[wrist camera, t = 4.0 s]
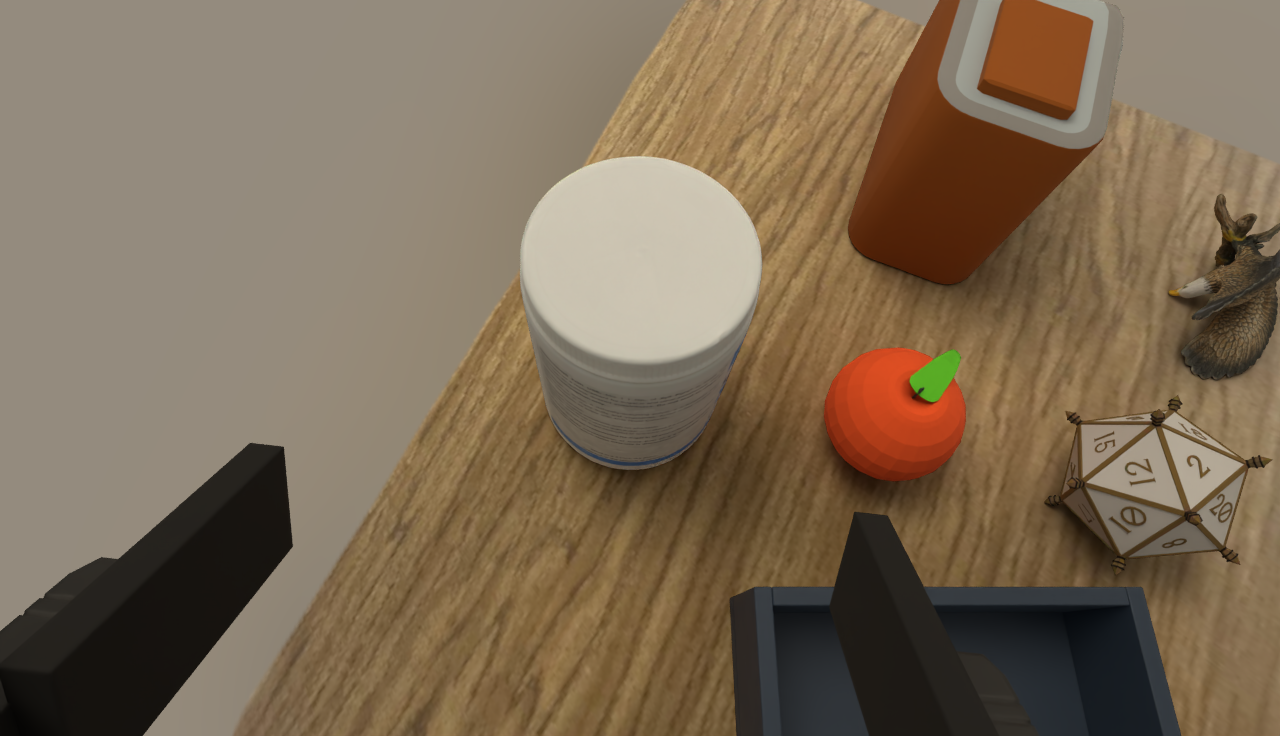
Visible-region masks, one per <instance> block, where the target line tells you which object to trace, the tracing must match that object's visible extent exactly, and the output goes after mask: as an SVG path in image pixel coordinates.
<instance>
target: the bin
mask: <svg viewBox="0 0 1280 736" xmlns="http://www.w3.org/2000/svg"><path fill="white" fill-rule="evenodd" d="M924 588H925V590H926V592H927V594H928V596H929V598H930V600H931V602H932V604H933V606H934V608H935V610H936V612H937V614H938V616H939V618H940V620H941V622H942V624H943V626H944V628H945V630H946V632H947V634H948V636H949V638H950V640H951V642H952V644H953V646H954V648H955V650H956V651H960V652H969V653H978V654H984V655H985V656H986V657H987V658H988V659H989V660H990V661H991V662H992V663H993V664H994V665H995V666H996V667H997V668H998V669H999V670H1000V671H1001V672H1002V673H1003V674H1004V675H1005V676H1006V677H1007V679H1008V681H1009V683H1010V684H1011V686H1012V688H1013V690H1014V691H1015V693H1016V695H1017V697H1018V699H1019V700H1020V701H1019V703H1020V705H1022V706H1023V707H1024V709H1025V711H1026V713H1027V714H1028V716H1029V718H1030V720H1031V725H1034V727H1035V728H1036V730H1037V732H1038V734H1039V735H1040V736H1181V733H1180V729H1179V725H1178V721H1177V718H1176V714H1175V710H1174V706H1173V702H1172V698H1171V695H1170V691H1169V687H1168V683H1167V679H1166V675H1165V672H1164V668H1163V664H1162V660H1161V656H1160V653H1159V649H1158V645H1157V641H1156V637H1155V633H1154V630H1153V626H1152V622H1151V618H1150V614H1149V610H1148V607H1147V603H1146V599H1145V595H1144V591H1143V588H1142V587H924ZM833 590H834V587H772V588H771V587H754V588H752V589H749V590H747V591H745V592H743V593H740V594H738V595H736V596H733V597H731V598H730V614H731V634H732V654H733V674H734V693H735V713H736V733H737V736H869V734H868V731H867V727H866V724H865V721H864V718H863V715H862V711H861V708H860V705H859V702H858V698H857V695H856V692H855V689H854V685H853V682H852V679H851V676H850V673H849V669H848V666H847V663H846V660H845V656H844V653H843V650H842V647H841V644H840V640H839V637H838V634H837V631H836V627H835V624H834V621H833V618H832V615H831V611H830V608H829V605H830V602H831V598H832V594H833Z"/></svg>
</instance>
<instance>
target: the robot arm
mask: <svg viewBox="0 0 1280 736" xmlns="http://www.w3.org/2000/svg"><path fill="white" fill-rule="evenodd" d="M292 547H293V544H292V533H291V523H290V510H289V499H288V489H287V477H286V466H285V455H284V447H281V446H272V445H264V444H255V443H250V444H248V445H247V446H246V447H245V448H244V449H243V450H242V451H241V452H239V453H238V454H237V455H236V456H235V457H234V458H233V459H231V460H230V461H229V462H228V463H227V464H226V465H225V466H223V468H221V469H220V470H219V471H218V472H217V473H216V474H214V475H213V476H212V477H211V478H210V479H209V480H208V481H207V482H205V483H204V484H203V485H202V486H201V487H200V488H198V489H197V490H196V491H195V492H194V493H193V494H192V495H191V496H189V497H188V498H187V499H186V500H185V501H184V502H183V503H181V504H180V505H179V506H178V507H177V508H176V509H175V510H174V511H173V512H171V513H170V514H169V515H168V516H167V517H166V518H164V519H163V520H162V521H161V522H160V523H159V524H158V525H157V526H156V527H154V528H153V529H152V530H151V531H150V532H149V533H148V534H146V535H145V536H144V537H143V538H142V539H141V540H140V541H138V542H137V543H136V544H135V545H134V546H133V547H132V548H130V549H129V550H128V551H127V552H126V553H125V554H124V555H123V556H121V557H120V558H119V559H112V558H103V557H101V558H99V559H97V560H95V561H93V562H91V563H89V564H87V565H85V566H83V567H82V568H80V569H78V570H76V571H74V572H72V573H70V574H68V575H67V576H66V577H65V578H64V579H62V580H61V581H60V582H59V583H58V584H56V585H55V586H54V587H53V588H51V589H50V590H49V591H48V592H47V593H46V594H45V596H44V598H39V599H38V600H37V601H36V602H35V603H33V604H32V605H31V606H30V607H29V608H27V609H26V610H25V613H24V614H23V616H22V615H19V616H18V617H17V618H15V619H14V620H13V621H12V622H11V623H9V625H7V626H6V627H5V628H3V629H2V630H1V631H0V736H143V735H144V733H145V732H146V731H147V730H148V728H149V727H150V726H151V725H152V723H153V722H154V721H155V719H156V718H157V717H158V716H159V715H160V713H161V712H162V711H163V710H164V708H165V707H166V706H167V704H168V703H169V702H170V701H171V699H172V698H173V697H174V695H175V694H176V693H177V692H178V691H179V689H180V688H181V687H182V686H183V684H184V683H185V682H186V680H187V679H188V678H189V677H190V675H191V674H192V673H193V672H194V670H195V669H196V668H197V667H198V665H199V664H200V663H201V662H202V660H203V659H204V658H205V657H206V655H207V654H208V653H209V651H210V650H211V649H212V648H213V646H214V645H215V644H216V643H217V641H218V640H219V639H220V638H221V636H222V635H223V634H224V633H225V631H226V630H227V629H228V628H229V626H230V625H231V624H232V623H233V621H234V620H235V619H236V617H237V616H238V615H239V613H240V612H241V611H242V610H243V608H244V607H245V606H246V605H247V604H248V602H249V601H250V599H252V597H253V596H254V595H255V594H256V592H257V591H258V590H259V588H260V587H261V586H262V585H263V583H264V582H265V581H266V580H267V578H268V577H269V576H270V574H271V573H272V572H273V571H274V569H275V568H276V567H277V566H278V564H279V563H280V562H281V561H282V559H283V558H284V557H285V556H286V554H287V553H288V552H289V551H290V549H291V548H292ZM829 608H830V611H831V615H832V618H833V621H834V624H835V627H836V631H837V634H838V637H839V640H840V644H841V647H842V650H843V653H844V656H845V660H846V663H847V666H848V669H849V673H850V676H851V679H852V682H853V685H854V689H855V692H856V695H857V698H858V702H859V705H860V708H861V711H862V715H863V718H864V721H865V724H866V727H867V731H868V734H869V736H1040V735H1039V734H1038V732H1037V730H1036V728H1035V727H1034V725H1031V720H1030V718H1029V716H1028V714H1027V713H1026V711H1025V709H1024V707H1023V706H1022V705H1020V703H1019V701H1020V700H1019V699H1018V697H1017V695H1016V693H1015V691H1014V690H1013V688H1012V686H1011V684H1010V683H1009V681H1008V679H1007V677H1006V676H1005V675H1004V674H1003V673H1002V672H1001V671H1000V670H999V669H998V668H997V667H996V666H995V665H994V664H993V663H992V662H991V661H990V660H989V659H988V658H987V657H986V656H985V655H984V654H978V653H969V652H960V651H956V650H955V648H954V646H953V644H952V642H951V640H950V638H949V636H948V634H947V632H946V630H945V628H944V626H943V624H942V622H941V620H940V618H939V616H938V614H937V612H936V610H935V608H934V606H933V604H932V602H931V600H930V598H929V596H928V594H927V592H926V590H925V588H924V587H923V585H922V583H921V581H920V579H919V577H918V575H917V573H916V571H915V569H914V567H913V565H912V563H911V561H910V559H909V557H908V555H907V553H906V551H905V549H904V547H903V545H902V543H901V541H900V539H899V537H898V535H897V533H896V531H895V529H894V527H893V525H892V523H891V522H890V520H889V518H888V516H887V515H878V514H869V513H860V512H854V516H853V519H852V523H851V527H850V531H849V534H848V538H847V542H846V546H845V549H844V553H843V557H842V561H841V564H840V568H839V572H838V575H837V579H836V583H835V587H834V590H833V594H832V598H831V602H830V605H829Z"/></svg>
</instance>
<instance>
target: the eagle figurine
mask: <svg viewBox="0 0 1280 736" xmlns="http://www.w3.org/2000/svg"><path fill="white" fill-rule="evenodd" d="M1214 211H1215V216H1216V218H1217V220H1218V221H1219V223H1220V224H1221V230H1222V235H1223V237H1222V245H1221V247H1220V248H1219V250H1218V251H1217V252H1216V256H1215V260H1216V266H1221V265H1224V267H1220V268H1218V269H1216V270H1213V271H1211V272H1209V273H1208V274H1206V275H1204V276H1202V277H1200V278H1199V279H1197V280H1195V281H1193V282H1191V283H1189V284H1186V285H1184V286H1183V287H1181V288H1179V289H1177V290H1169V294H1170V295H1173V296H1181V297H1183V298H1193V297H1197V296H1201V295H1205V294H1210V293H1216V294H1215V295H1214V296H1213V297H1211V298H1210V299H1209V300H1208V302H1207V305H1206V306H1205V307H1203V308H1201V309H1200V310H1198V311H1197V312H1196V313H1195V314H1194V315H1193V316H1192V320H1194V319H1196V320H1200V319H1205V318H1207V317H1209V316H1210V315H1211V314H1212V313H1214V312H1217V311H1219V313H1218V314H1217V316H1216V317H1215V318H1214V320H1213V321H1212V323H1211V324H1210V325H1209V326H1208V328H1207V329H1206V330H1205V331H1203V332H1202V333H1201V334H1199V335H1198V336H1196V337H1195V338H1194V339H1193V340H1192V341H1191V342H1189V343H1188V344H1187V345H1186V346H1185V347H1184V348H1183V349H1182V351H1181V354H1182V355H1183V356H1185V364H1186V365H1189V366H1191V371H1192V373H1193V374H1194V375H1199V376H1200V377H1201V378H1202V379H1207V378H1209V377H1213V378H1214V379H1216V380H1218V379H1221V378H1222V377H1223V376H1224V375H1225V374H1227V376H1228V377H1232V376H1233V375H1234V374H1235V373H1237V374H1241V373H1243V372H1244V371H1246V370H1247V369H1248V368H1249V366H1252V365H1254V364H1255V362H1256V360H1257V359H1259V358H1260V357H1261V355H1262V352H1263V350H1264V349H1265V348H1266V345H1267V344H1268V341H1269V338H1270V337H1271V334H1272V332H1273V330H1274V325H1275V323H1276V315H1277V307H1278V303H1277V300H1278V299H1277V296H1276V294H1277V292H1276V289H1275V287H1276V282H1277V281H1278V280H1279V278H1280V250H1279V251H1278V252H1277V253H1276V255H1274V256H1269V257H1265V256H1262V255H1261V254H1260V252H1259V251H1258V249H1261V248H1263V247H1264V245H1263V244H1257V243H1260V242H1267V241H1270V239H1271V238H1272V237H1273V236H1274V235H1275V234H1276V233H1278V232H1279V230H1280V224H1277V225H1276V226H1274V227H1273V228H1272V229H1270V230H1269V231H1266V232H1263V233H1259V234H1252V235H1249V236H1247V237H1246V234H1247V233H1248V232H1249V231H1250V229H1251V228H1252V226H1253V224H1254V223H1255V221H1256V219H1257V216H1256V215H1255V214H1247V215H1244V216H1243V217H1241V218H1240V219H1238V220H1237V221H1236V222H1234V221H1233V220H1232V219H1231V217H1230V215H1229V213H1228V211H1227V208H1226V198H1225V196H1224V195H1223V194H1220V195H1218V196H1217V199H1216V203H1215V207H1214ZM1235 255H1236V259H1235Z"/></svg>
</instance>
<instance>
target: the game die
mask: <svg viewBox="0 0 1280 736" xmlns="http://www.w3.org/2000/svg"><path fill="white" fill-rule="evenodd" d="M1169 402H1170V403H1169V405H1168V406H1169V410H1163V411H1161V410H1160V409H1158V410H1157V411H1154V412H1148V413H1140V414H1133V415H1125V416H1118V417H1110V418H1103V419H1096V420H1088V421H1081V419H1080V418H1079V417H1080V416H1077V415H1076V412H1075V413H1073V412H1068V411H1065V412H1066V415H1067V420H1069V421H1071V423H1074V424H1076V425H1077V428H1076V432H1075V436H1074V441H1073V445H1072V449H1071V453H1070V457H1069V461H1068V465H1067V470H1066V474H1065V478H1064V482H1063V486H1062V490H1061V495H1060V496H1056V495H1054V496H1049V497H1048V499H1047V500H1046V501H1045V503H1048V504H1051V505H1052V506H1054V505H1056V504H1057V505H1059V503H1061V502H1063V503H1064V504H1065V505H1066V506H1067V507H1068V508H1069V509H1070V510H1071V511H1072V512H1073V513H1074V514H1075V515H1076V516H1077V517H1078V518H1079V519H1080V520H1081V521H1082V522H1083V523H1084V524H1085V525H1086V526H1087V527H1088V528H1089V529H1090V530H1091V531H1092V532H1093V533H1094V534H1095V535H1096V536H1097V537H1098V538H1099V539H1100V540H1101V541H1102V542H1103V543H1104V544H1105V545H1106V546H1107V547H1108V548H1109V549H1110V550H1111V551H1112V552H1113V553H1114V554H1115V555H1116V556H1117V558H1116V559H1115V560H1113V564H1111V566H1112V567H1113V571H1114V574H1115V575H1116V574H1118V573H1119V572H1121V571H1123V570H1124V569H1123V568H1124V566H1126V564H1125V559H1134V558H1145V557H1157V556H1168V555H1179V554H1190V553H1201V552H1212V551H1219V552H1221V554H1222V555H1223V556H1222V557H1223V558H1225V559H1227V562H1233V563H1236V564H1239V565H1240V562H1239V559H1238V554H1235V553H1234V552H1233V550H1230V549H1228V548H1226V543H1227V539H1228V536H1229V533H1230V529H1231V526H1232V522H1233V519H1234V516H1235V512H1236V509H1237V506H1238V502H1239V499H1240V496H1241V492H1242V489H1243V485H1244V482H1245V479H1246V475H1247V472H1248V469H1249V468H1250V467H1256V468H1258V467H1263V468H1264V467H1265V465H1266V464H1268V463H1269V462H1270V461H1272V459H1268V458H1264V457H1260V455H1258V457H1255V458H1254V457H1252V459H1250V460H1244V459H1243V458H1241V457H1240V456H1239V455H1237V454H1236V453H1234V452H1233V451H1231V450H1230V449H1229V448H1227V447H1226V446H1224V445H1223V444H1222V443H1220V442H1219V441H1217V440H1216V439H1214V438H1213V437H1212V436H1210V435H1209V434H1207V433H1206V432H1204V431H1203V430H1202V429H1200V428H1199V427H1197V426H1196V425H1195V424H1193V423H1192V422H1190V421H1189V420H1187V419H1186V418H1185V417H1183V416H1182V415H1180V414H1179V413H1178V412H1177V410H1178V409H1180V405H1182V403H1181V402H1180V399H1179V397H1178V395H1177V396H1176V397H1175V398H1173V399H1171V400H1170V401H1169Z"/></svg>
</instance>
